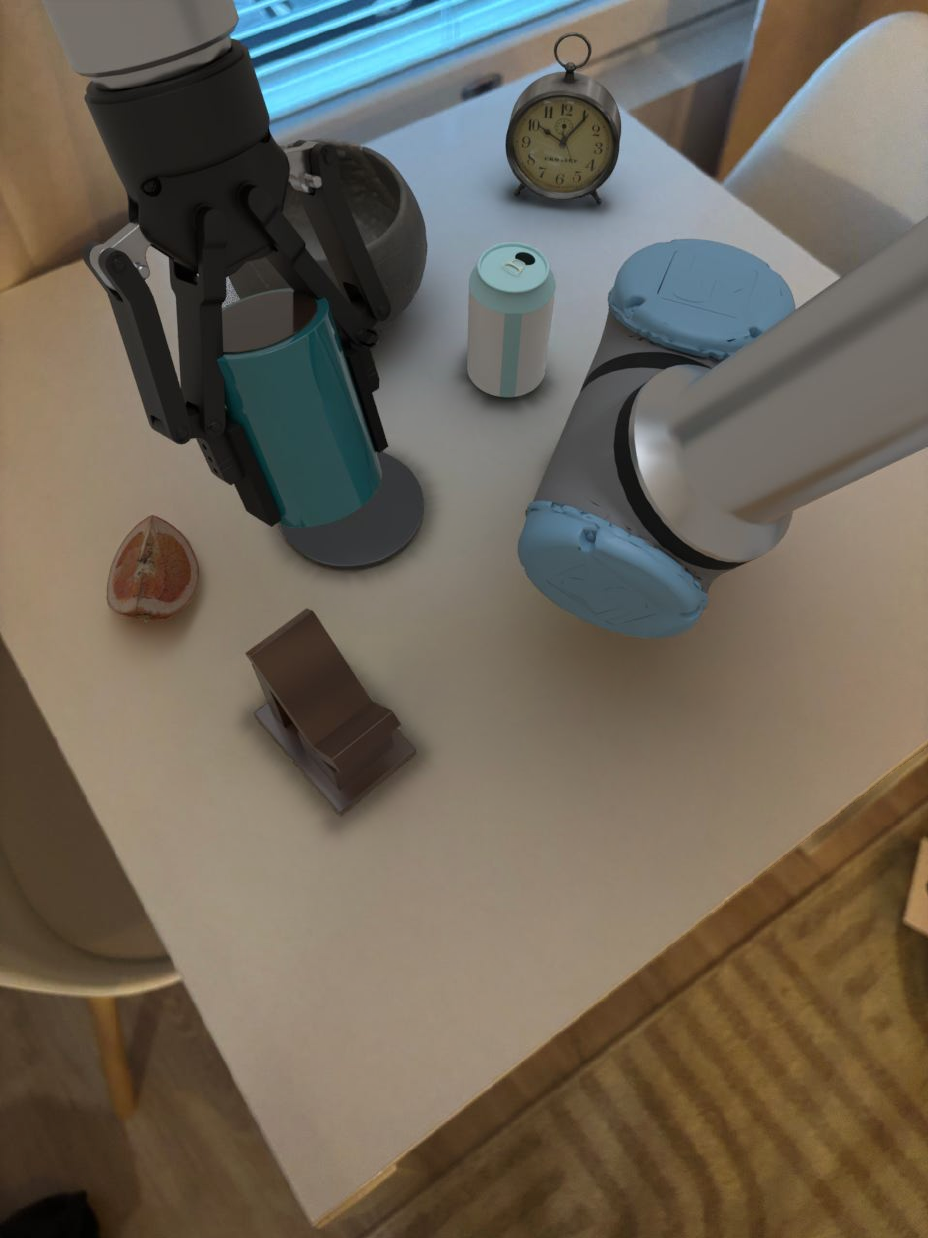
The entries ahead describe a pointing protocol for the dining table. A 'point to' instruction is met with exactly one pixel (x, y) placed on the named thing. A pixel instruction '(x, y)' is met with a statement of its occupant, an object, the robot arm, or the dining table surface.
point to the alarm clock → (564, 134)
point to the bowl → (381, 221)
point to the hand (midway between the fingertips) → (318, 477)
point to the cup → (298, 406)
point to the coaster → (367, 524)
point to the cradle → (325, 713)
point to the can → (509, 319)
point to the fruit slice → (152, 572)
